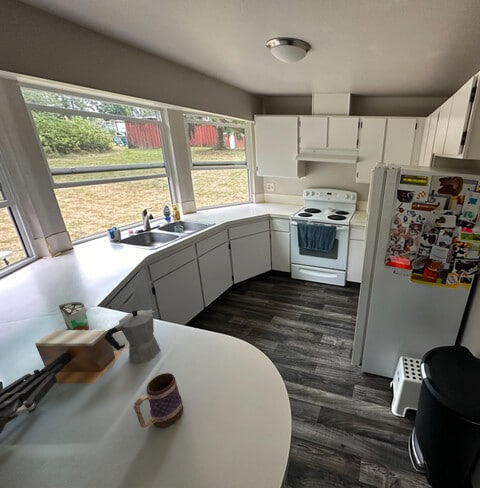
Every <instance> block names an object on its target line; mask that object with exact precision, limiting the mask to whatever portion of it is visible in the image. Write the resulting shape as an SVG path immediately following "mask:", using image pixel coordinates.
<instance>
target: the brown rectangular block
mask: <svg viewBox="0 0 480 488" xmlns="http://www.w3.org/2000/svg"><path fill="white" fill-rule="evenodd" d="M107 330H108V329H88V330H69V329H54V330H53V331H51V332H50V333H48V334H46V335H45V336H44V337H42V338H41V339H39V340H38V341H36V342H35V343H34V345H35V348H36V349H37V352H38V355H39V357H40V359H41V361H42V363H43V366H44V367H46V366H47V365H48V364H50V363H52V362H53V361H54V360H56V359H57V358H58V357H59V356H61V355H62V354H63V353H69V355H70V358H71V361H70V362H69V363H68V364H67V365H65V366H64V368H63V369H62V370H61V371H59V372H101V371H102V370H103V369H104V368H105V367H106V366H107V365H108V364H109V363H110V362H111V361H112V360H113V359H114V358H115V354H114V351H113V348H112V345H111V344H110V343H109V342H108V341H106V340H105V335H106V333H107Z"/></svg>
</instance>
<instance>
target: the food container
mask: <svg viewBox="0 0 480 488" xmlns="http://www.w3.org/2000/svg"><path fill="white" fill-rule="evenodd" d="M58 308H59V310H60V313H61V315H62V318H63V320H64V323H65V326H66V328H67V330H90V325H89V320H88V315H87V312H88V307H87V305H86V304H85V303H83V302H80V301H72V302H66V303H62V304H59V305H58Z"/></svg>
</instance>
